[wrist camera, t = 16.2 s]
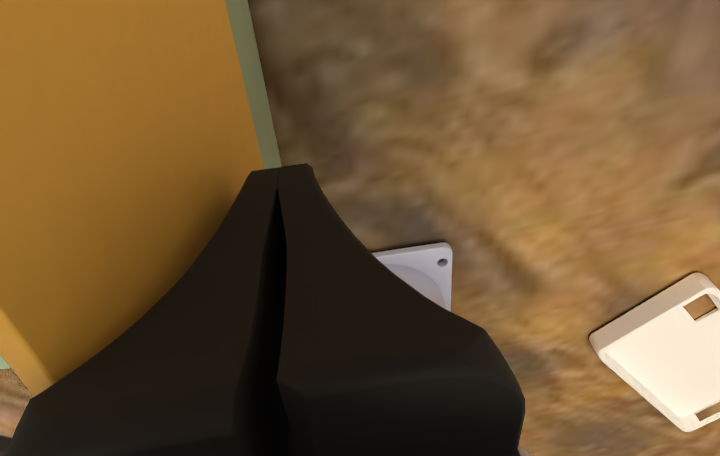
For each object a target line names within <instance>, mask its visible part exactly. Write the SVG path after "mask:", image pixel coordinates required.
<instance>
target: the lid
mask: <svg viewBox="0 0 720 456" xmlns="http://www.w3.org/2000/svg"><path fill="white" fill-rule="evenodd" d="M263 169H264V167H263V163H262V159H261V154H260V150H259V146H258V142H257V137H256V133H255V129H254V124H253V120H252V116H251V111H250V107H249V103H248V98H247V94H246V90H245V86H244V81H243V77H242V73H241V68H240V64H239V60H238V55H237V51H236V47H235V42H234V38H233V34H232V30H231V25H230V21H229V17H228V12H227V8H226V4H225V0H0V355H1V356H2V357H3V359H4V360H5V361H6V362H7V364H8V365H9V366H10V367H11V369H12V370H13V371H14V372H15V373H16V375H17V376H18V377H19V378H20V380H21V381H22V382H23V383H24V385H25V386H26V387H27V388H28V389H29V391H30V392H31V393H32V394H33V396H34V397H35V396H36V395H38V394H39V393H41V392H43V391H44V390H46V389H47V388H49V387H50V386H51V385H53V384H54V383H56V382H57V381H59V380H60V379H62V378H63V377H65V376H66V375H68V374H69V373H71V372H72V371H74V370H75V369H76V368H78V367H79V366H81V365H82V364H84V363H85V362H86V361H88V360H89V359H91V358H92V357H93V356H95V355H96V354H97V353H99V352H100V351H101V350H102V349H104V348H105V347H106V346H108V345H109V344H110V343H111V342H113V341H114V340H115V339H117V338H118V337H119V336H120V335H121V334H122V333H124V332H125V331H126V330H127V329H128V328H130V327H131V326H132V325H133V324H134V323H136V322H137V321H138V320H139V319H140V318H141V317H142V316H143V315H144V314H145V313H146V312H147V311H148V310H149V309H150V308H152V307H153V306H154V305H155V304H156V303H157V302H158V301H159V300H160V299H161V298H162V297H163V296H164V295H165V294H166V293H167V292H168V291H169V290H170V289H171V288H172V287H173V286H174V285H175V284H176V283H177V281H178V280H179V279H180V278H181V277H182V276H183V275H184V273H185V272H186V271H187V270H188V269H189V267H190V266H191V265H192V264H193V262H194V261H195V260H196V259H197V257H198V256H199V255H200V253H201V252H202V250H203V249H204V248H205V246H206V245H207V243H208V242H209V241H210V239H211V238H212V236H213V235H214V234H215V232H216V231H217V229H218V227H219V226H220V224H221V223H222V221H223V219H224V218H225V216H226V214H227V213H228V211H229V210H230V208H231V206H232V204H233V203H234V201H235V199H236V197H237V195H238V194H239V192H240V190H241V188H242V186H243V184H244V182H245V180H246V178H247V176H248V175H249V174H250V172H251V171H255V170H263Z"/></svg>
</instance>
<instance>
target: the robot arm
mask: <svg viewBox="0 0 720 456" xmlns="http://www.w3.org/2000/svg"><path fill="white" fill-rule="evenodd" d="M452 255H453V253H452V249H451V247H450V245H449V244H447V243H435V244H428V245H422V246H415V247H408V248H402V249H395V250H388V251H382V252H375V253H371V252H370V251H369V250H368V249H367V248H366V247H365V246H364V245H363V244H362V243H361V242H360V241H359V240H358V239H357V238H356V237H355V235H354V234H353V233H352V232H351V231H350V230H349V228H348V227H347V226H346V225H345V224H344V222H343V221H342V220H341V218H340V217H339V216H338V214H337V213H336V212H335V210H334V209H333V207H332V206H331V204H330V203H329V202H328V200H327V198H326V197H325V195H324V194H323V192H322V190H321V188H320V186H319V185H318V183H317V181H316V178H315V176H314V173H313V169H312V167H311V166H309V165H308V164H307V163H306V164H299V165H292V166H284V167H277V168H270V169H263V170H255V171H251V172H250V174H249V175H248V176H247V178H246V180H245V182H244V184H243V186H242V188H241V190H240V192H239V194H238V195H237V197H236V199H235V201H234V203H233V204H232V206H231V208H230V210H229V211H228V213H227V214H226V216H225V218H224V219H223V221H222V223H221V224H220V226H219V227H218V229H217V231H216V232H215V234H214V235H213V236H212V238H211V239H210V241H209V242H208V243H207V245H206V246H205V248H204V249H203V250H202V252H201V253H200V255H199V256H198V257H197V259H196V260H195V261H194V262H193V264H192V265H191V266H190V267H189V269H188V270H187V271H186V272H185V273H184V275H183V276H182V277H181V278H180V279H179V280H178V281H177V283H176V284H175V285H174V286H173V287H172V288H171V289H170V290H169V291H168V292H167V293H166V294H165V295H164V296H163V297H162V298H161V299H160V300H159V301H158V302H157V303H156V304H155V305H154V306H153V307H152V308H150V309H149V310H148V311H147V312H146V313H145V314H144V315H143V316H142V317H141V318H140V319H139V320H138V321H137V322H136V323H134V324H133V325H132V326H131V327H130V328H128V329H127V330H126V331H125V332H124V333H122V334H121V335H120V336H119V337H118V338H117V339H115V340H114V341H113V342H111V343H110V344H109V345H108V346H106V347H105V348H104V349H102V350H101V351H100V352H99V353H97V354H96V355H95V356H93V357H92V358H91V359H89V360H88V361H86V362H85V363H84V364H82V365H81V366H79V367H78V368H76V369H75V370H74V371H72V372H71V373H69V374H68V375H66V376H65V377H63V378H62V379H60V380H59V381H57V382H56V383H54V384H53V385H51V386H50V387H49V388H47V389H46V390H44V391H43V392H41V393H39V394H38V395H36V396H35V397H33V398H32V399H30V401H29V403H28V405H27V407H26V409H25V411H24V413H23V415H22V417H21V419H20V421H19V423H18V425H17V427H16V430H15V433H14V435H13V438H12V440H11V443H10V445H9V448H8V451H7V453H6V455H5V456H533V455H531V454H530V453H527V452H526V450H525V449H524V448H523V447H521V446H518V444H519V440H520V435H521V430H522V425H523V420H524V416H525V398H524V396H523V394H522V391H521V388H520V386H519V384H518V381H517V379H516V377H515V376H514V374H513V372H512V370H511V369H510V367H509V365H508V363H507V362H506V360H505V359H504V357H503V355H502V354H501V352H500V351H499V349H498V348H497V346H496V345H495V343H494V342H493V341H492V339H491V338H490V336H489V335H488V334H487V332H486V331H485V330H484V329H483V328H481V327H479V326H477V325H475V324H473V323H471V322H469V321H467V320H466V319H464V318H462V317H460V316H458V315H456V314H454V313H452V312H450V310H451V282H452ZM440 259H444V260H443V261H439V260H440Z"/></svg>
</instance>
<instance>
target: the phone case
mask: <svg viewBox="0 0 720 456" xmlns="http://www.w3.org/2000/svg"><path fill="white" fill-rule="evenodd" d="M704 294H708V296H709V297H710V298H711V300H712V301H713V302H714V304H715V305H716V306H717V308H716V309H714V310H712V311H710V312H709V313H707V314H705V315H703V316H701V317H700V318H698V319H696V320H694V319H693V318H692V317H691V316H690V315H689V313H688V312H687V311H686V310H685V308H684V307H683V306H685V305H686V304H688V303H690V302H692V301H693V300H695V299H697V298H699V297H700V296H702V295H704ZM589 341H590V343H591V345H592V346H593V348H594V350H595V352H596V353H597V355H598V357H599V358H600V360H601V361H602V362H603V363H605V364H606V365H607V366H608V367H609V368H610V369H612V370H613V371H614V372H615V373H616V374H617V375H618V376H620V377H621V378H622V379H623V380H624V381H625V382H626V383H628V384H629V385H630V386H631V387H632V388H633V389H635V390H636V391H637V392H638V393H639V394H640V395H641V396H643V397H644V398H645V399H646V400H647V401H648V402H649V403H651V404H652V405H653V406H654V407H655V408H656V409H658V410H659V411H660V412H661V413H662V414H663V415H664V416H666V417H667V418H668V419H669V420H670V421H671V422H672V423H674V424H675V425H676V426H677V427H678V428H679V429H681V430H682V431H685V432H691V431H694V430H696V429H698V428H700V427H702V426H704V425H706V424H708V423H710V422H712V421H714V420H716V419H718V418H720V412H718V413H716V414H714V415H712V416H710V417H708V418H706V419H704V420H702V421H699V419H698V418H697V416H696V415H695V414H696V413H698V412H700V411H702V410H704V409H706V408H708V407H710V406H712V405H714V404H716V403H718V402H720V291H719V290H718V288H717V287H716V286H715V285H714V284H713V283H712V282H711V281H710V280H709V279H708V278H707V276H705V275H704V274H702V273H693V274H691V275H689V276H687V277H686V278H684V279H682V280H681V281H679V282H677V283H676V284H674V285H672V286H671V287H669V288H667V289H666V290H664V291H662V292H661V293H659V294H657V295H656V296H654V297H652V298H651V299H649V300H647V301H646V302H644V303H642V304H641V305H639V306H637V307H636V308H634V309H632V310H631V311H629V312H627V313H626V314H624V315H622V316H621V317H619V318H617V319H616V320H614V321H612V322H610V323H609V324H607V325H605V326H604V327H602V328H600V329H599V330H597V331H595V332H594V333H592V334H591V335H590V337H589Z"/></svg>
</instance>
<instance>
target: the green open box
mask: <svg viewBox="0 0 720 456" xmlns="http://www.w3.org/2000/svg"><path fill="white" fill-rule="evenodd" d="M225 4H226V8H227V12H228V17H229V21H230V25H231V30H232V34H233V38H234V42H235V47H236V51H237V55H238V60H239V64H240V68H241V73H242V77H243V81H244V86H245V90H246V94H247V98H248V103H249V107H250V111H251V116H252V120H253V124H254V129H255V133H256V137H257V142H258V146H259V150H260V154H261V159H262V163H263V167H264V169H270V168H277V167H282V165H281V160H280V155H279V150H278V145H277V141H276V136H275V131H274V126H273V121H272V116H271V111H270V107H269V102H268V97H267V92H266V87H265V82H264V77H263V73H262V68H261V63H260V58H259V53H258V48H257V44H256V39H255V34H254V29H253V24H252V19H251V14H250V10H249V5H248V0H225ZM7 368H11V367H10V366H9V365H8V364H7V362H6V361H5V360H4V359H3V357H2V356H1V355H0V370H1V369H7Z"/></svg>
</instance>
